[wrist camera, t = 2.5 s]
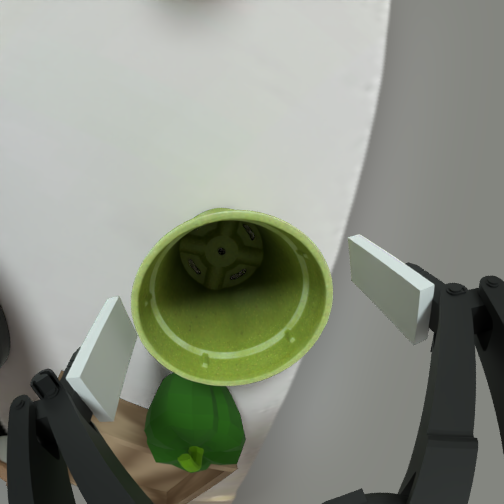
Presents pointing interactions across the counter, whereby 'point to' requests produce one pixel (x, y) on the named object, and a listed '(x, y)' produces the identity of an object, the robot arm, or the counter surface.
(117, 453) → the walnut tray
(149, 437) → the bell pepper
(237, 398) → the counter surface
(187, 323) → the plant pot
